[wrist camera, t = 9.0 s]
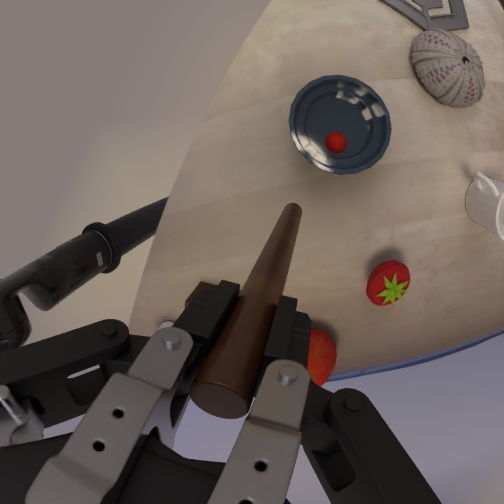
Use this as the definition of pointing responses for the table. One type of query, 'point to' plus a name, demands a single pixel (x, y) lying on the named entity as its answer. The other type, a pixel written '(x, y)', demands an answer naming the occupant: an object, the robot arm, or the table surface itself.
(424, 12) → the grey hexagonal plate
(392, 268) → the strawberry
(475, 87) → the sea urchin shell
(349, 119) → the bowl
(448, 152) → the table surface
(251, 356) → the stirring stick
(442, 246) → the table surface
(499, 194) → the mug
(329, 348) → the apple
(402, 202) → the table surface
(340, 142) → the ball
